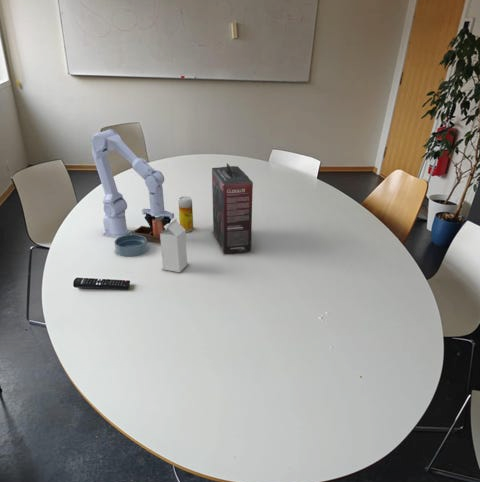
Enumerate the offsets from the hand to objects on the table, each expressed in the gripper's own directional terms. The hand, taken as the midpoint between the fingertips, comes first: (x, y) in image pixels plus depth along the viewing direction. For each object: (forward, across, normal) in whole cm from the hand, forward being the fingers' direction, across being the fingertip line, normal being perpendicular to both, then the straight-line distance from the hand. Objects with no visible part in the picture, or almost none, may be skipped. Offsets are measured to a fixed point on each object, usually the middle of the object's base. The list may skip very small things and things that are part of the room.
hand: (159, 231), depth 188 cm
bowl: (+4, -6, -14) cm, 15 cm away
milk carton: (+4, +18, -20) cm, 27 cm away
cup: (+2, 0, 0) cm, 2 cm away
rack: (+4, -4, 0) cm, 6 cm away
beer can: (+4, +5, +15) cm, 17 cm away
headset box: (+4, +29, +11) cm, 32 cm away
